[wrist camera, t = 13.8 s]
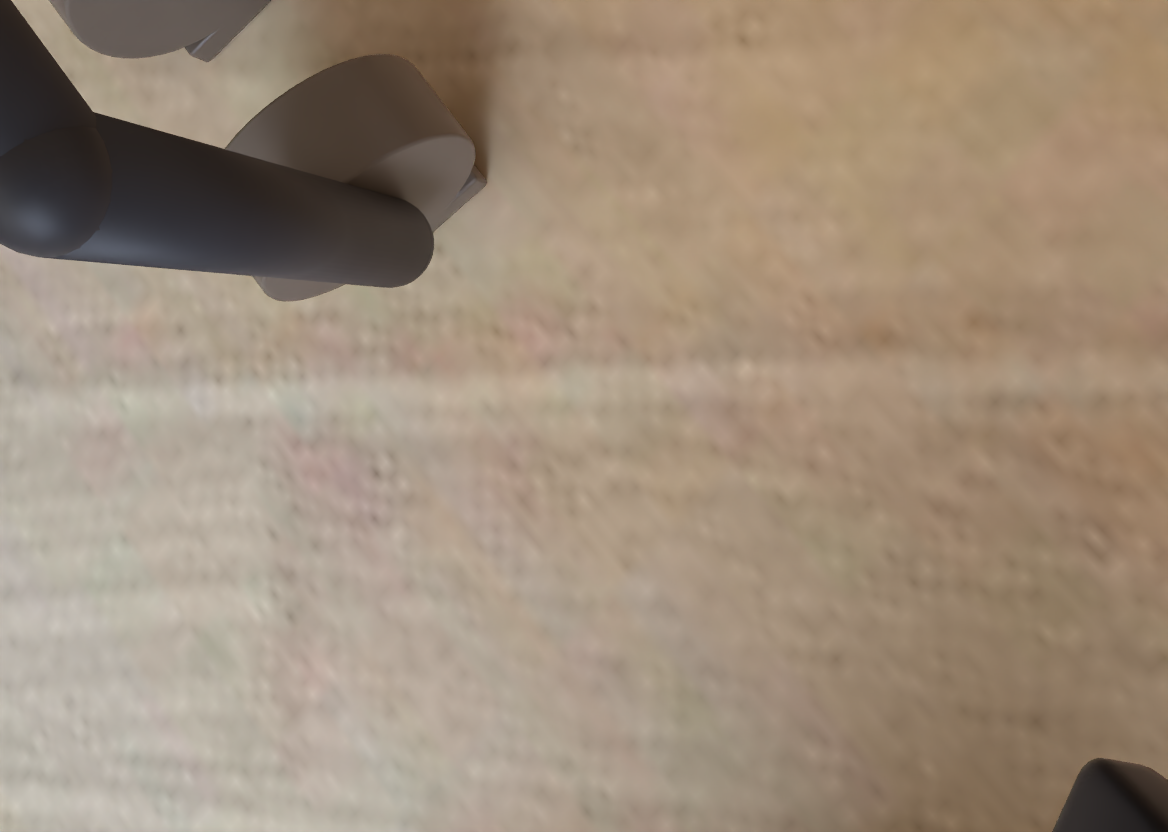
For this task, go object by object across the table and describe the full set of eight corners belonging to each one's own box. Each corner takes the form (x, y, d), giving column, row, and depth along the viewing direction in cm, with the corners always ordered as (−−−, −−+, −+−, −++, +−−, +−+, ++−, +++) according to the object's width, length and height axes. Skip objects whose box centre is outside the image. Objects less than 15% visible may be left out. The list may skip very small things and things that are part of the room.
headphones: (553, 210, 19) (194, 72, 9) (386, 353, 20) (-115, 379, 10) (252, -180, 20) (-399, -722, 10) (104, -24, 21) (-632, -368, 11)
